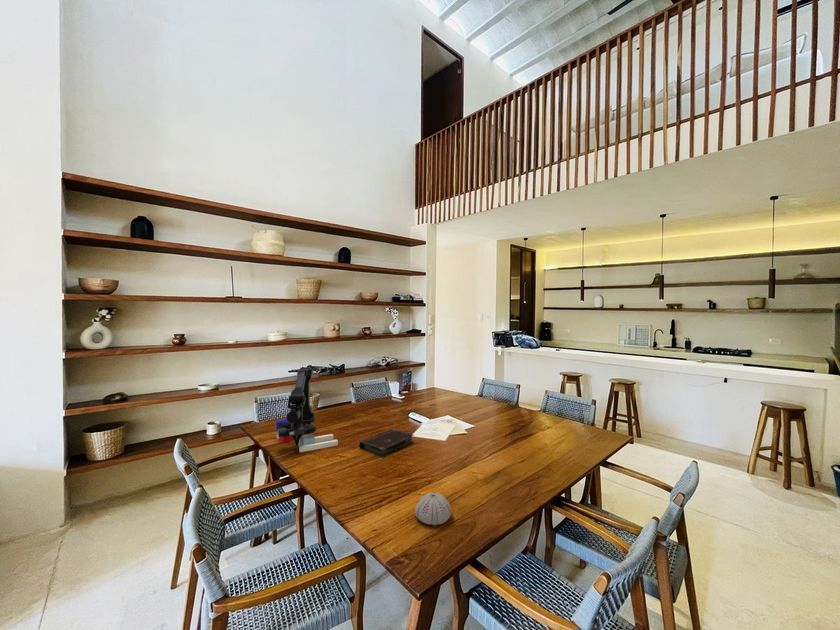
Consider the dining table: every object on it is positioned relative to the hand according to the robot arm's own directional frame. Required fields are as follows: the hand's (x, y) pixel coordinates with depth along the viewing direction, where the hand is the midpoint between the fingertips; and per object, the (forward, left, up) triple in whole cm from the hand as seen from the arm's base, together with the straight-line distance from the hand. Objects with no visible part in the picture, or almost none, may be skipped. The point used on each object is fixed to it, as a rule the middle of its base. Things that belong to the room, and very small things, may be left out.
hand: (296, 445), depth 184 cm
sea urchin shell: (+86, +34, -2) cm, 92 cm away
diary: (+19, +45, -2) cm, 49 cm away
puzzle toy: (-18, -2, -2) cm, 18 cm away
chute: (0, +11, -2) cm, 11 cm away
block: (0, +6, -2) cm, 6 cm away
